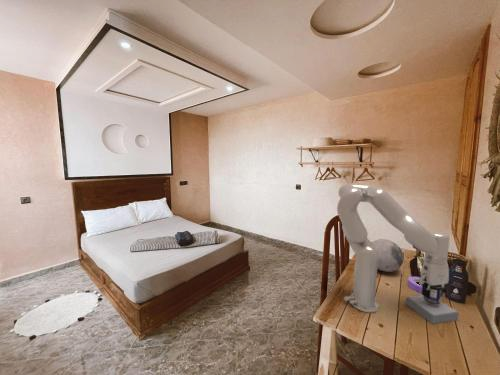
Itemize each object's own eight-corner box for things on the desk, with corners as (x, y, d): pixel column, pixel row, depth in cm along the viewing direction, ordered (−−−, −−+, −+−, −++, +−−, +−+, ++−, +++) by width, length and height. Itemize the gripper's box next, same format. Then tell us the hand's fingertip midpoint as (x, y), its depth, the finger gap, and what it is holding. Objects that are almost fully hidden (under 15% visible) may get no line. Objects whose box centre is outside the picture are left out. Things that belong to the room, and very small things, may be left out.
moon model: (369, 275, 128) (371, 244, 125) (363, 260, 147) (364, 233, 144) (407, 280, 122) (410, 248, 119) (395, 264, 140) (398, 236, 138)
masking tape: (417, 280, 122) (417, 274, 121) (440, 292, 111) (441, 286, 110) (402, 284, 118) (403, 278, 118) (425, 297, 107) (426, 290, 107)
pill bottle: (432, 295, 99) (434, 274, 98) (444, 304, 93) (446, 281, 92) (419, 296, 99) (421, 274, 97) (431, 305, 93) (433, 282, 91)
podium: (432, 324, 89) (433, 315, 89) (405, 303, 102) (406, 296, 102) (457, 320, 91) (458, 311, 91) (428, 300, 104) (429, 293, 104)
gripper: (427, 264, 88) (423, 303, 91) (461, 260, 91) (456, 298, 93) (411, 256, 96) (408, 292, 98) (442, 253, 98) (439, 288, 101)
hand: (431, 295), depth 96 cm, fingers closed on pill bottle, 6 cm apart
